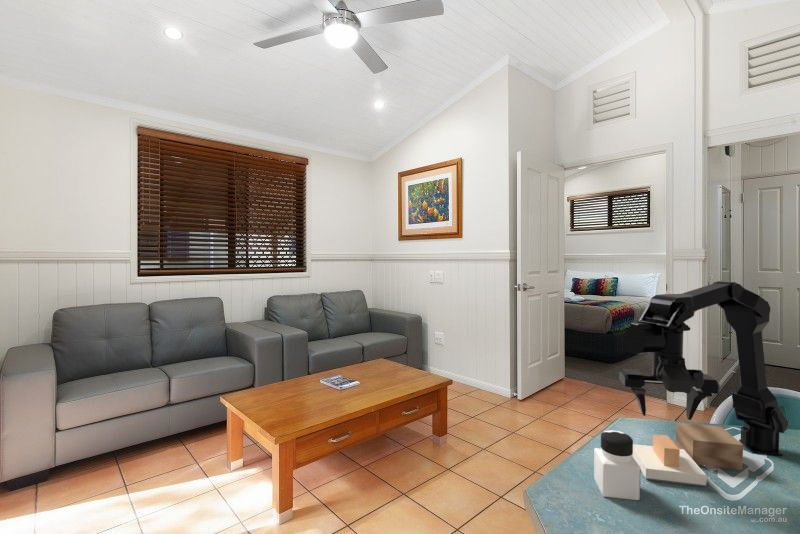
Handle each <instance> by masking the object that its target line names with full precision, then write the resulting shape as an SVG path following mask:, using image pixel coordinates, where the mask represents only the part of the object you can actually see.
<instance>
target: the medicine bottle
mask: <svg viewBox="0 0 800 534" xmlns="http://www.w3.org/2000/svg"><path fill="white" fill-rule="evenodd" d="M633 444H634V439H633V438H632V437H631V436H630V435H629V434H627V433H625V432H623V431H620V430H619V431H618V430H612V429H611V430H605V431H603V432H601V433H600V448H599V447H595V448H594V449H593V451H594V453H593V454H594V455H593V458H594V459H593V462H594V463H593V479H594V481H595V483H596V486H597V487H598V488H599V492H600V493H601V496H602V497H605V498H614V499H620V500H621V499H622V500H630V501H631V500H632V501H641V469H640V466H639V465H638V463H637V462H636V461H635V459H634V458H633Z"/></svg>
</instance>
